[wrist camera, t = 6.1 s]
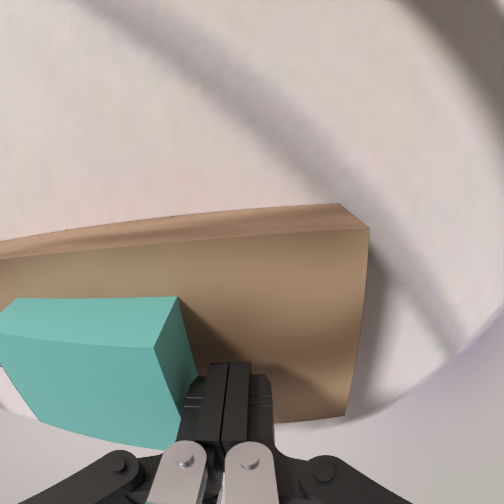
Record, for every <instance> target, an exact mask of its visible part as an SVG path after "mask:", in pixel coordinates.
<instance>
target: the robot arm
mask: <svg viewBox="0 0 504 504" xmlns="http://www.w3.org/2000/svg"><path fill="white" fill-rule="evenodd" d="M186 397H187V399H186V400H185V404H184V406H185V407H184V409H183V413H182V417H181V421H180V425H179V429H178V433H177V437H176V441H175V443H173V444H171V445H170V446H169V447H168V448H166V450H165V451H164V453H162V454H160V455H156V456H150V457H143V458H136V457H135V456H134V455H133V454H132V453H130V452H128V451H125V450H115V451H112V452H110V453H108V454H106V455H105V456H103V457H102V458H100V459H98V460H97V461H95V462H93V463H92V464H90V465H88V466H87V467H85V468H84V469H82V470H80V471H79V472H77V473H75V474H73V475H72V476H70V477H68V478H66V479H64V480H63V481H61V482H59V483H57V484H56V485H54V486H52V487H50V488H48V489H46V490H44V491H42V492H40V493H39V494H37V495H35V496H33V497H31V498H29V499H27V500H25V501H23V502H20V503H18V504H221V498H222V493H223V486H222V479H223V472H224V473H225V504H412V503H411V502H409V501H407V500H405V499H403V498H402V497H400V496H398V495H396V494H395V493H393V492H391V491H389V490H388V489H386V488H384V487H383V486H381V485H379V484H378V483H376V482H374V481H373V480H371V479H370V478H368V477H367V476H365V475H363V474H362V473H360V472H359V471H357V470H356V469H354V468H353V467H351V466H350V465H348V464H347V463H345V462H344V461H342V460H341V459H339V458H337V457H334V456H329V455H322V456H317V457H314V458H312V459H310V460H309V461H306V460H300V459H294V458H290V457H287V456H285V455H283V454H282V453H281V452H279V451H278V449H277V448H276V447H275V439H274V414H273V400H272V389H271V382H270V381H269V379H268V378H267V376H266V375H265V374H252V368H251V362H250V361H239V362H214V363H210V364H209V368H208V373H207V376H197V377H196V378H195V379H194V380H193V382H192V383H191V384H190V385H189V389H188V392H187V396H186Z"/></svg>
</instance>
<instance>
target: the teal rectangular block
mask: <svg viewBox="0 0 504 504" xmlns="http://www.w3.org/2000/svg"><path fill="white" fill-rule="evenodd" d="M0 364H1V365H2V367H3V369H4V370H5V372H6V374H7V375H8V377H9V378H10V380H11V382H12V383H13V385H14V386H15V388H16V389H17V391H18V392H19V394H20V395H21V397H22V398H23V399H24V401H25V402H26V404H27V405H28V406H29V408H30V409H31V410H32V412H33V413H34V414H35V416H36V417H37V418H38V420H39V421H40V422H43V423H46V424H49V425H52V426H55V427H58V428H61V429H64V430H68V431H71V432H74V433H78V434H82V435H85V436H90V437H94V438H97V439H102V440H106V441H111V442H116V443H120V444H126V445H131V446H137V447H143V448H150V449H158V450H166V448H168V447H169V446H170V445H171V444H173V443H175V441H176V437H177V433H178V429H179V425H180V421H181V417H182V413H183V409H184V407H185V406H184V404H185V400H186V399H187V397H186V396H187V392H188V389H189V385H190V384H191V383H192V382H193V380H194V379H195V378H196V377H197V376H198V374H197V371H196V367H195V364H194V360H193V357H192V353H191V349H190V345H189V342H188V338H187V334H186V330H185V326H184V322H183V318H182V314H181V310H180V305H179V301H178V297H177V296H169V297H140V298H80V299H59V298H17V299H15V300H14V301H13V302H12V303H11V304H10V305H9V306H7V307H6V308H5V309H4V310H3V311H2V312H1V313H0Z"/></svg>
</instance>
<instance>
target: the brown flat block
mask: <svg viewBox="0 0 504 504" xmlns="http://www.w3.org/2000/svg"><path fill="white" fill-rule="evenodd" d="M368 245H369V227H368V226H366V225H365V224H364V223H363V222H362V221H360V220H359V219H358V218H357V217H355V216H354V215H353V214H352V213H351V212H349V211H348V210H347V209H346V208H344V207H343V206H342V205H340V204H339V203H337V204H317V205H300V206H284V207H270V208H256V209H244V210H232V211H221V212H210V213H199V214H189V215H180V216H171V217H162V218H153V219H144V220H136V221H128V222H120V223H113V224H105V225H98V226H91V227H84V228H77V229H71V230H64V231H58V232H52V233H46V234H40V235H34V236H28V237H22V238H17V239H11V240H6V241H0V313H1V312H2V311H3V310H4V309H5V308H6V307H7V306H9V305H10V304H11V303H12V302H13V301H14V300H15V299H17V298H59V299H80V298H140V297H169V296H177V297H178V301H179V305H180V310H181V314H182V318H183V322H184V326H185V330H186V334H187V338H188V342H189V345H190V349H191V353H192V357H193V360H194V364H195V367H196V371H197V374H198V376H207V373H208V368H209V364H210V363H214V362H239V361H250V362H251V368H252V374H265V375H266V376H267V378H268V379H269V381H270V382H271V389H272V400H273V414H274V424H276V423H290V422H301V421H310V420H318V419H326V418H333V417H340V416H345V412H346V407H347V403H348V398H349V393H350V388H351V383H352V378H353V373H354V367H355V361H356V356H357V349H358V343H359V336H360V329H361V322H362V314H363V305H364V296H365V286H366V274H367V261H368ZM1 366H2V365H1ZM4 371H5V370H4ZM7 376H8V375H7ZM9 379H10V378H9ZM14 387H15V386H14ZM16 390H17V389H16Z"/></svg>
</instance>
